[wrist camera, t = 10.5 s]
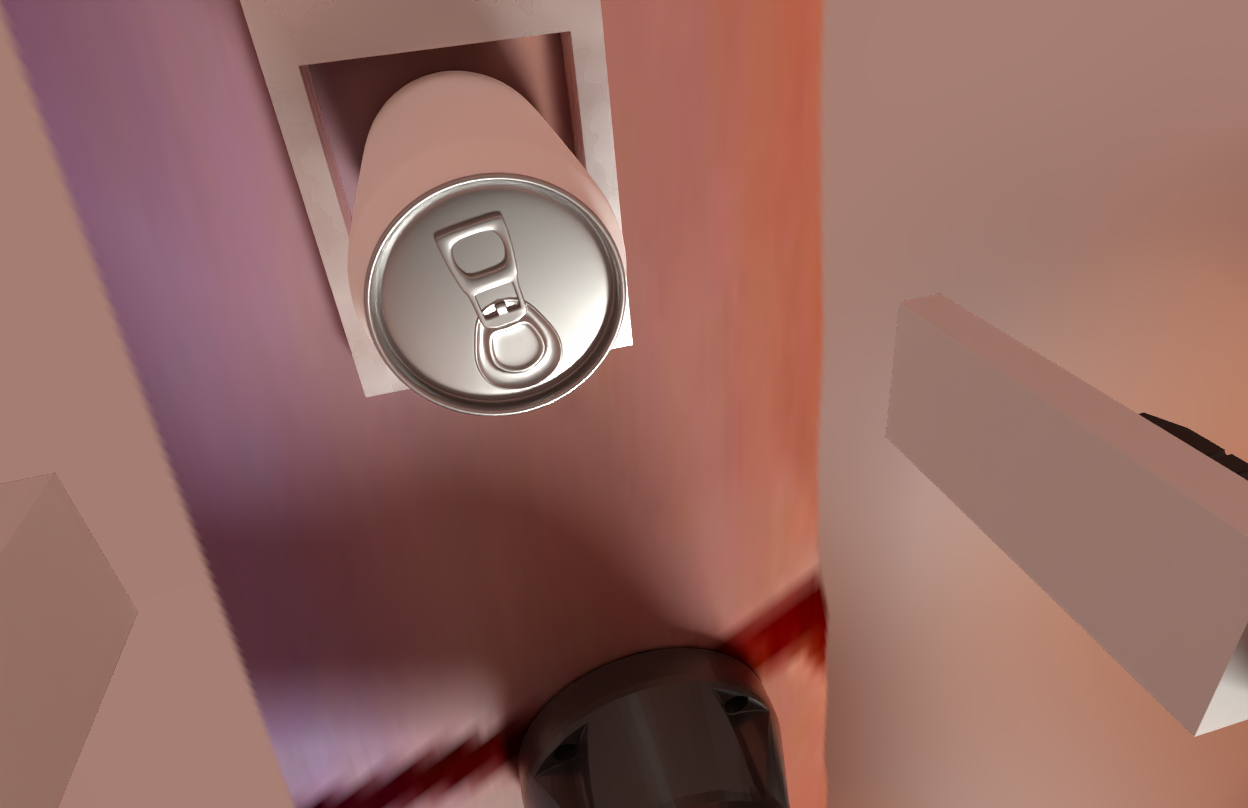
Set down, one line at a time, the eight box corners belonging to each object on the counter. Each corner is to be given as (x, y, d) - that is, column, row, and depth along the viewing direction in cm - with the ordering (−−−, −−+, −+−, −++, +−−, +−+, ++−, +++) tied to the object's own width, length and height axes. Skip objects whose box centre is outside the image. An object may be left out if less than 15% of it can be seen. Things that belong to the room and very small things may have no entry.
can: (411, 282, 28) (418, 470, 18) (328, 104, 24) (279, 215, 14) (577, 224, 28) (674, 375, 18) (519, 40, 25) (600, 105, 15)
